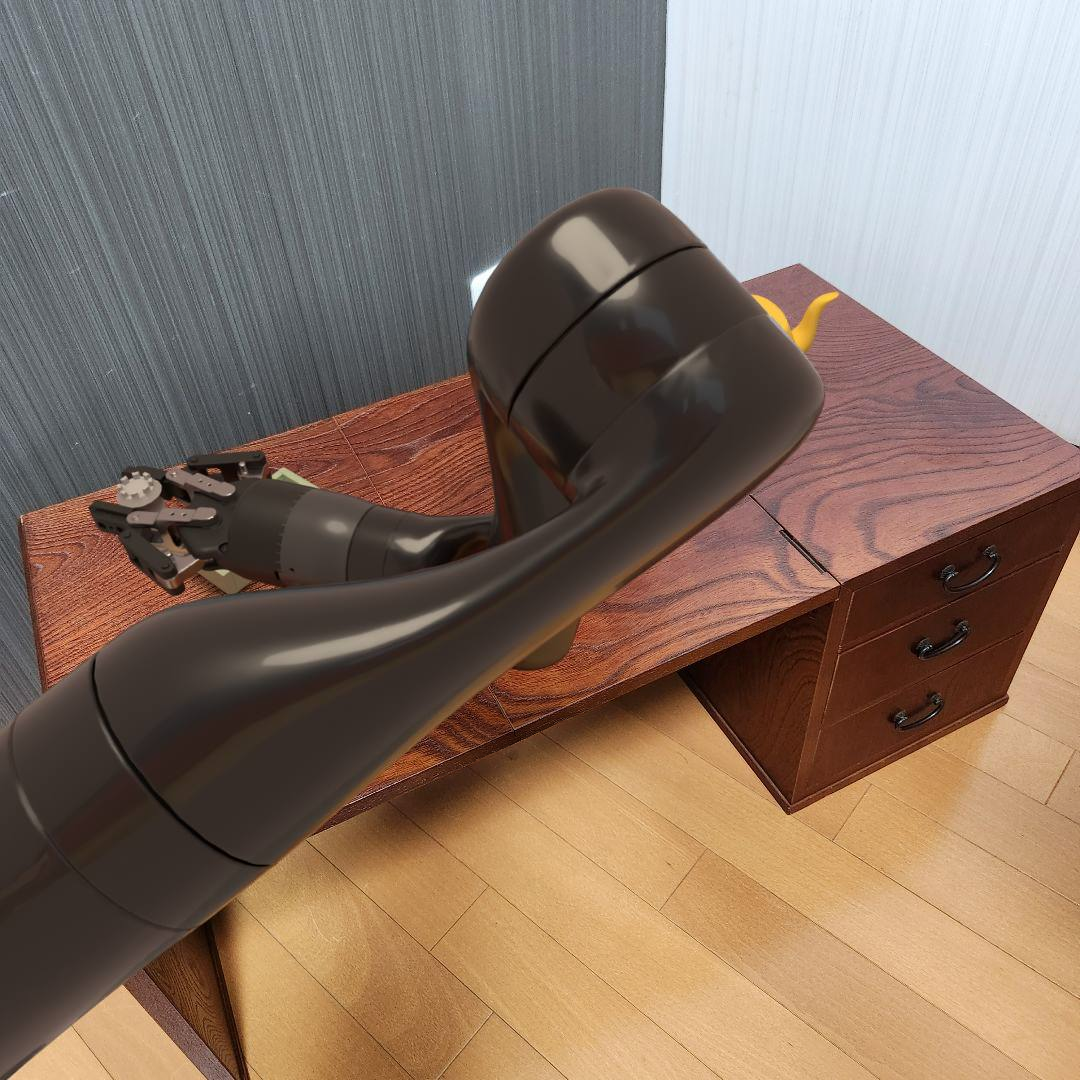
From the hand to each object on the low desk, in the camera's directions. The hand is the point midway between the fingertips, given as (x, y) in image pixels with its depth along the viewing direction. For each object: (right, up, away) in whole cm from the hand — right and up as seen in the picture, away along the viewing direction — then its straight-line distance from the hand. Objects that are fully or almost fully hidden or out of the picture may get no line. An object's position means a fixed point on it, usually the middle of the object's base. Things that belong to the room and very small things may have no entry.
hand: (112, 495), depth 70 cm
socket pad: (+5, -3, +21) cm, 22 cm away
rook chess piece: (+3, -5, +4) cm, 7 cm away
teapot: (+56, +14, +36) cm, 68 cm away
